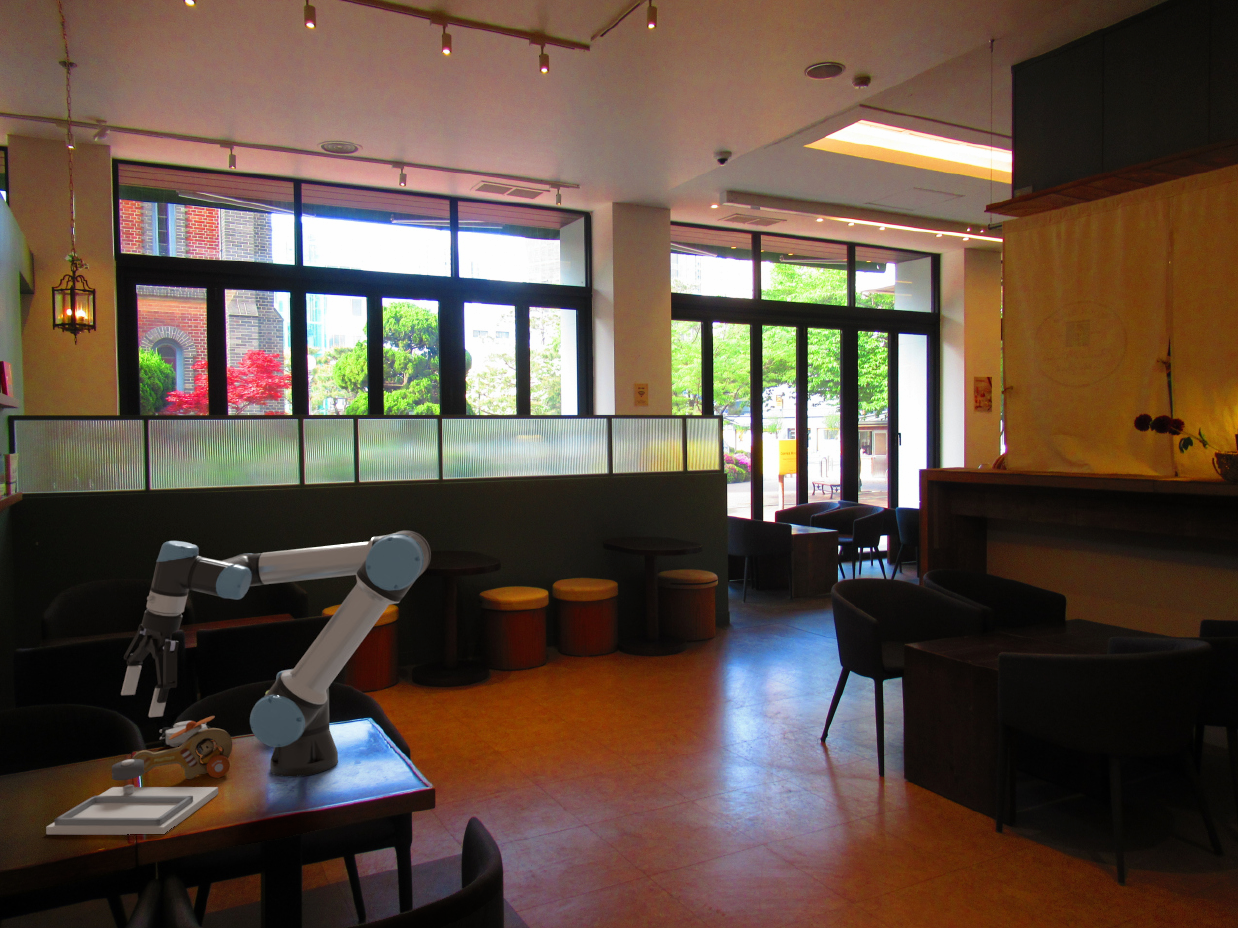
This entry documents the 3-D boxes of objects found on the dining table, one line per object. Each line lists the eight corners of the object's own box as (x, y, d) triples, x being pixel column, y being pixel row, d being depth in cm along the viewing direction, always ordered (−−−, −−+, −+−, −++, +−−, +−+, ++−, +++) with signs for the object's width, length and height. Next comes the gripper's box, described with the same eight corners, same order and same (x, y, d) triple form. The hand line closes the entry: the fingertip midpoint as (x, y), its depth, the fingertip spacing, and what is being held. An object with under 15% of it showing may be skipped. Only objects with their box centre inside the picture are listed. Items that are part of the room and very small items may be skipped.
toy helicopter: (235, 774, 196) (233, 716, 196) (132, 795, 185) (131, 733, 185) (229, 764, 203) (228, 707, 203) (130, 784, 192) (128, 724, 191)
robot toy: (157, 741, 224) (161, 753, 212) (156, 724, 225) (160, 734, 212) (208, 732, 231) (214, 743, 218) (207, 715, 231) (214, 725, 218)
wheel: (150, 769, 185) (149, 756, 185) (132, 780, 179) (132, 766, 179) (123, 769, 185) (123, 756, 185) (105, 780, 179) (105, 766, 179)
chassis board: (218, 793, 185) (217, 780, 185) (164, 834, 165) (163, 819, 165) (112, 793, 186) (112, 780, 186) (46, 834, 166) (46, 819, 166)
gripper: (122, 595, 190) (99, 686, 190) (173, 628, 175) (149, 727, 175) (155, 595, 196) (134, 684, 196) (208, 627, 181) (185, 723, 181)
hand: (141, 705), depth 185 cm, fingers open, 13 cm apart
